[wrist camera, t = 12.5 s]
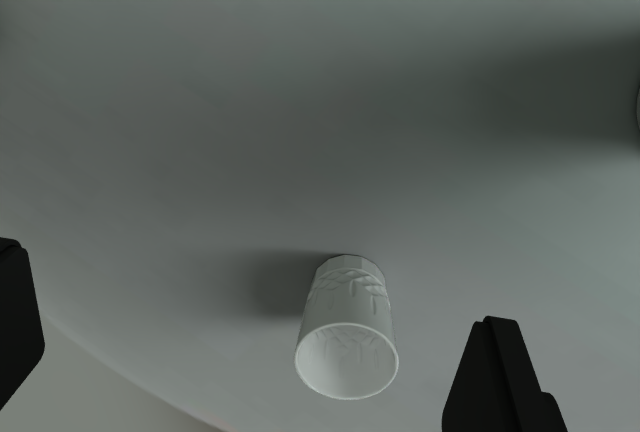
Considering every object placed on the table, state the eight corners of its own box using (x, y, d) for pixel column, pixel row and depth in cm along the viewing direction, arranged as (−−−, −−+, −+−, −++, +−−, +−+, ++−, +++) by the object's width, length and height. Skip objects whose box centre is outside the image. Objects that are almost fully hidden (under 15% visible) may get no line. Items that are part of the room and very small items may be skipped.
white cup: (348, 330, 51) (345, 414, 42) (288, 282, 48) (272, 361, 40) (409, 285, 47) (420, 366, 39) (349, 232, 45) (346, 304, 36)
